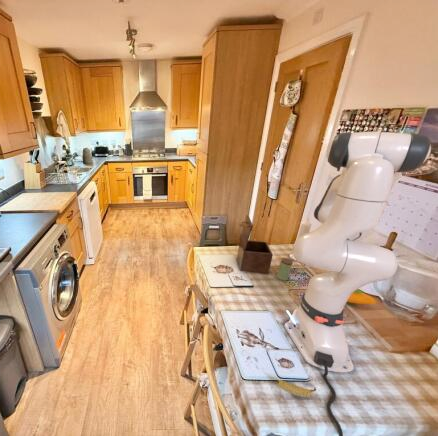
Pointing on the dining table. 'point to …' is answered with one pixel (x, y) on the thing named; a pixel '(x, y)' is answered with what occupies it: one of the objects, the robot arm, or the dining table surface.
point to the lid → (245, 231)
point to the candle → (302, 232)
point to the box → (255, 257)
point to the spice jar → (284, 269)
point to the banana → (295, 389)
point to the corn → (360, 298)
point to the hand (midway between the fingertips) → (300, 260)
